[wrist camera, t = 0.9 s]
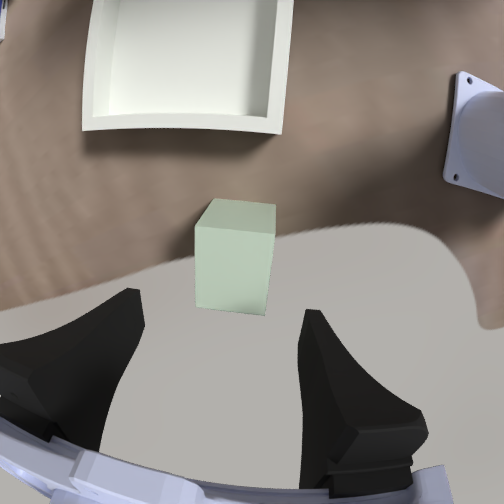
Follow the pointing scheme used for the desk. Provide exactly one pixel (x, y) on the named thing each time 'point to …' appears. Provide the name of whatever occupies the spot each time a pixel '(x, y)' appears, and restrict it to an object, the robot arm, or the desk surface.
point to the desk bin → (187, 64)
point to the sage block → (234, 256)
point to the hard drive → (2, 17)
